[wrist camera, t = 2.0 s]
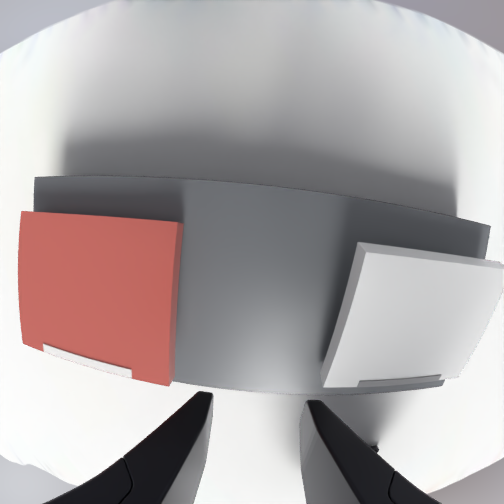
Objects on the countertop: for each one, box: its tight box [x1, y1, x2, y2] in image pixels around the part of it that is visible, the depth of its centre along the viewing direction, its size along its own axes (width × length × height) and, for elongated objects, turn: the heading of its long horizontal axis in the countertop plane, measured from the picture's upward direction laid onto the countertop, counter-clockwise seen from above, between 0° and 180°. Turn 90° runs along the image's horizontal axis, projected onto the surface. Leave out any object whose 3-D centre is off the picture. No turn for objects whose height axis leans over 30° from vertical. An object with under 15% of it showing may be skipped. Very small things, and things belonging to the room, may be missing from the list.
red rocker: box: [18, 211, 184, 386], centre depth 13 cm, size 8×10×1 cm
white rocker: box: [320, 242, 504, 388], centre depth 13 cm, size 8×10×1 cm
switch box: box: [34, 176, 491, 395], centre depth 17 cm, size 12×29×5 cm, turn 84°
